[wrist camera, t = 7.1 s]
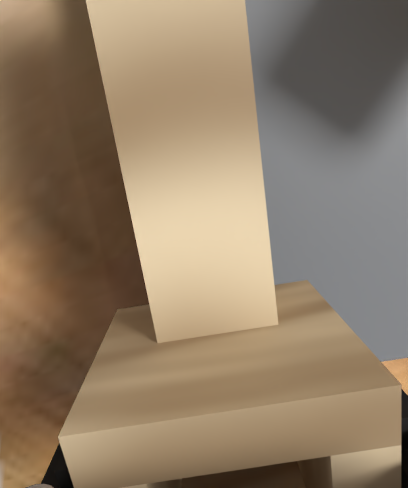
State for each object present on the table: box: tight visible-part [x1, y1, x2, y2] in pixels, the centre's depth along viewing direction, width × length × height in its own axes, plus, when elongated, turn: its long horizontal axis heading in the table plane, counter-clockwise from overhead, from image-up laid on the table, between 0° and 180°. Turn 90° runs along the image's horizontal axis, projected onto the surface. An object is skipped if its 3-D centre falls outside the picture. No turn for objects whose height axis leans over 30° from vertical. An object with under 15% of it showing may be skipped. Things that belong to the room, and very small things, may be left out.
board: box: [245, 0, 408, 362], centre depth 14 cm, size 19×15×2 cm
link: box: [58, 0, 401, 488], centre depth 8 cm, size 18×6×5 cm, turn 9°
